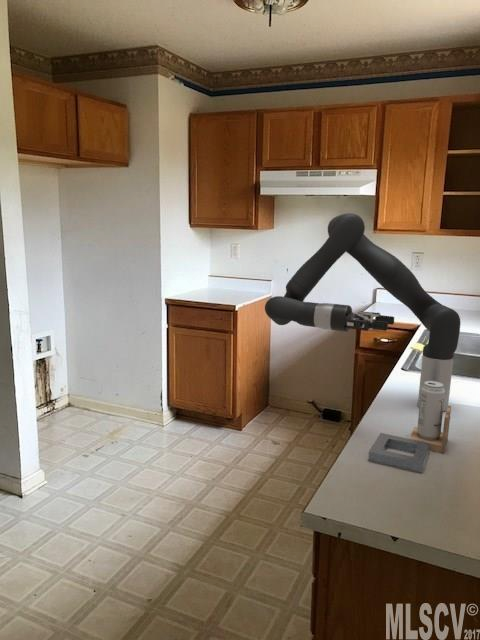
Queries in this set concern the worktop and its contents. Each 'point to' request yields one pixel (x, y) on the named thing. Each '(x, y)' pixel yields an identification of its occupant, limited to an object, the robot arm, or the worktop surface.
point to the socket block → (396, 459)
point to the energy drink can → (431, 410)
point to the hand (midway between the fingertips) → (390, 323)
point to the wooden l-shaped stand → (442, 440)
